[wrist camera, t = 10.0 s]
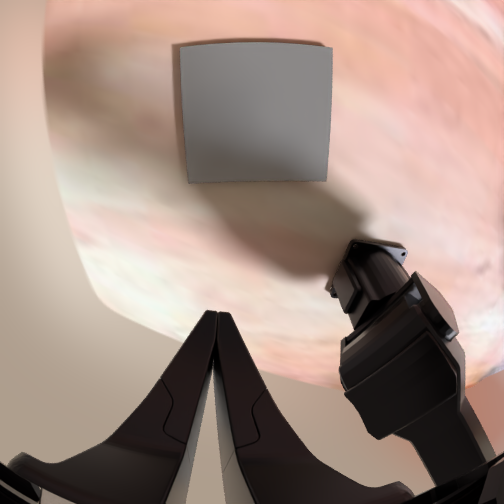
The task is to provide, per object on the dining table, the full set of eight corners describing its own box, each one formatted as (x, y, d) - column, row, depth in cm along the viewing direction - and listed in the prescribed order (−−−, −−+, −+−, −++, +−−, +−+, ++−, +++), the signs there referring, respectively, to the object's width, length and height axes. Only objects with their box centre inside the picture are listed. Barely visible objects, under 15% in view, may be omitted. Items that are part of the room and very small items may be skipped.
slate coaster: (329, 49, 14) (332, 47, 14) (323, 177, 20) (326, 181, 19) (182, 49, 14) (179, 47, 14) (190, 180, 20) (188, 183, 19)
